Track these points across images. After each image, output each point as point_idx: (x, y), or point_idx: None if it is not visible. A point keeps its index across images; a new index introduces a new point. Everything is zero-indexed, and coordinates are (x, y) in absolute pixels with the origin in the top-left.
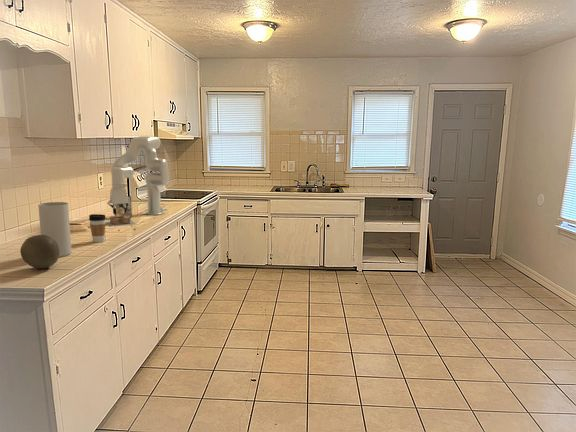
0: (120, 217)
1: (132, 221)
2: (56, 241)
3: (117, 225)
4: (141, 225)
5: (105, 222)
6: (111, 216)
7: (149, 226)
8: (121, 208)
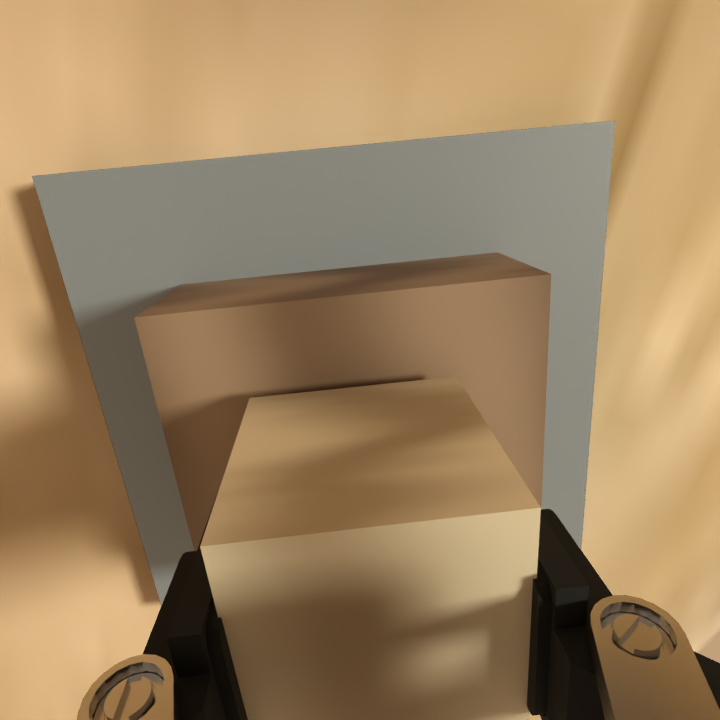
0: None
1: (596, 342)
2: None
3: None
4: (636, 510)
5: (85, 247)
6: (177, 323)
7: (695, 600)
8: (468, 639)
